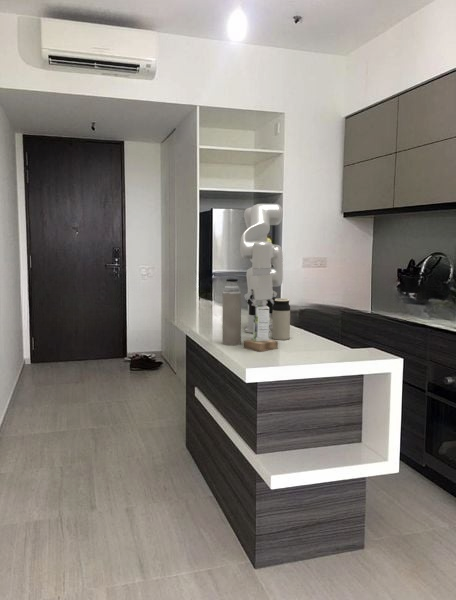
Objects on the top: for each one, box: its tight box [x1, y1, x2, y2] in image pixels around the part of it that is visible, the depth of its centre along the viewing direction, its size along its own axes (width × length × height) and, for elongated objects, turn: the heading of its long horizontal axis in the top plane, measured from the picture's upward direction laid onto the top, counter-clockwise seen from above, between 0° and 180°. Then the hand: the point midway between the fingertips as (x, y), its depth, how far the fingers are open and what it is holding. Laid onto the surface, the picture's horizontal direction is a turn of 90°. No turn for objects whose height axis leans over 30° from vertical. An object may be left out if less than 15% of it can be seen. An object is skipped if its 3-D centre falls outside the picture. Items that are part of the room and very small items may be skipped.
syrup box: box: [252, 305, 270, 342], centre depth 220 cm, size 6×6×14 cm
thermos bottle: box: [222, 278, 242, 346], centre depth 229 cm, size 8×8×28 cm
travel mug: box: [271, 298, 291, 341], centre depth 242 cm, size 8×8×18 cm
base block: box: [242, 338, 279, 353], centre depth 221 cm, size 10×10×3 cm
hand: (260, 314), depth 220 cm, fingers open, 9 cm apart
